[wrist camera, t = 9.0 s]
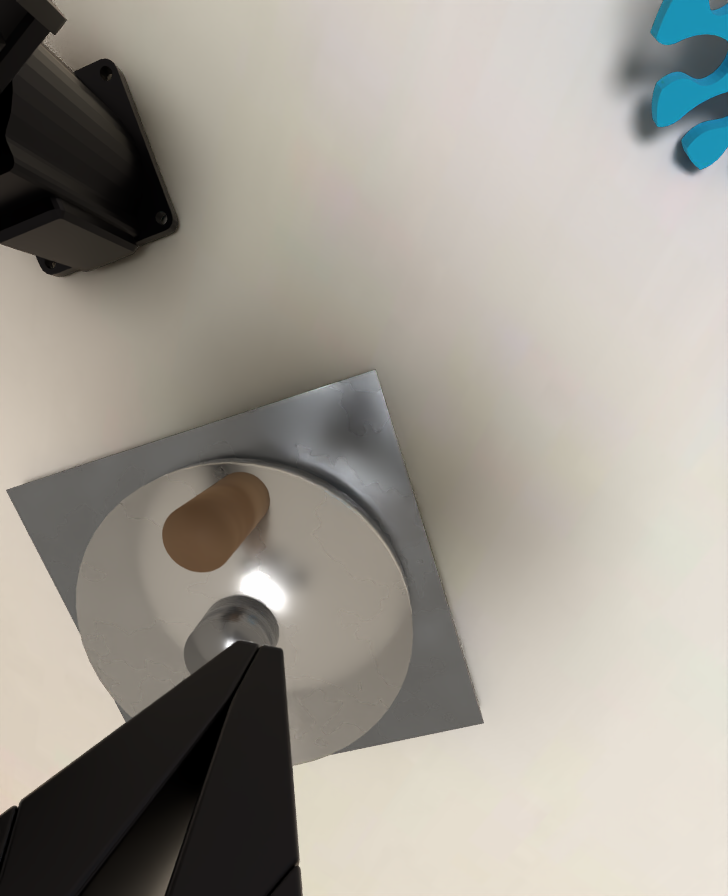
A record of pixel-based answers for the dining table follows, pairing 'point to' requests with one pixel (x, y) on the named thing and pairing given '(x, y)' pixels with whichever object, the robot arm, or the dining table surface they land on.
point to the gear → (680, 92)
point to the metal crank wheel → (249, 594)
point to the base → (321, 454)
